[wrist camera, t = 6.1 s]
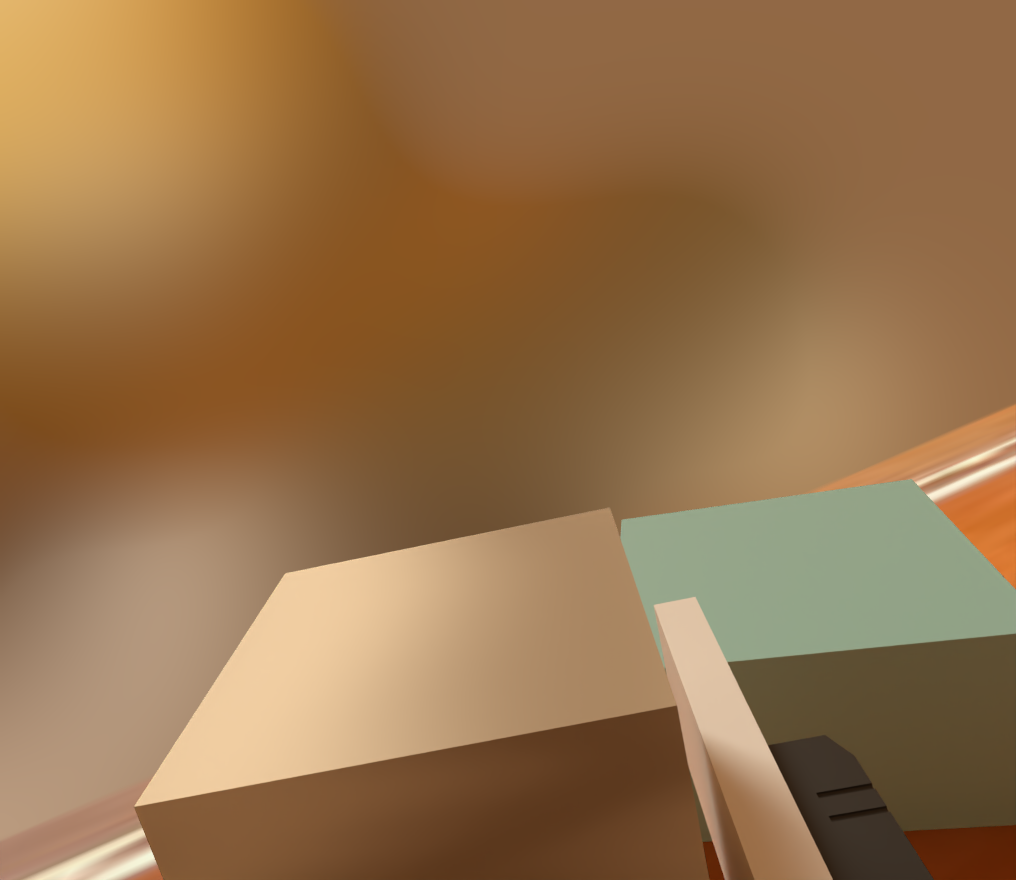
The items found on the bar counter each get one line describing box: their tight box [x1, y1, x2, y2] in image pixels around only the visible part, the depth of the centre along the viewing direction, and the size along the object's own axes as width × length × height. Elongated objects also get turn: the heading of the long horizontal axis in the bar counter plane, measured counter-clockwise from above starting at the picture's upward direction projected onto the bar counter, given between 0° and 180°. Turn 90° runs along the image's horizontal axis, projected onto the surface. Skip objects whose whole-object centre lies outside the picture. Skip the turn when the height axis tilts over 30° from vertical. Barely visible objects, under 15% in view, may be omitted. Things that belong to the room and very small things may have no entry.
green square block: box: [621, 479, 1016, 842], centre depth 22 cm, size 9×9×5 cm
